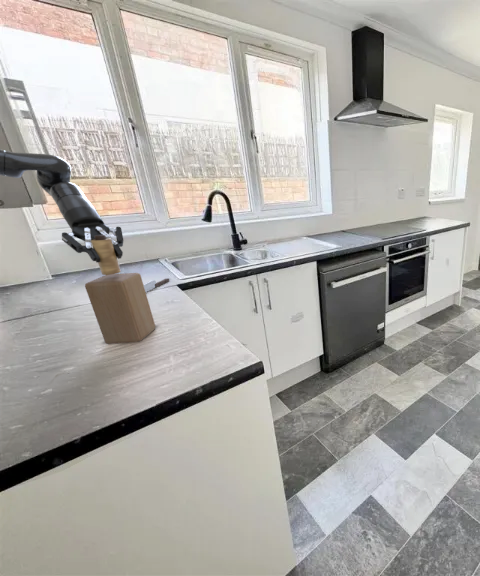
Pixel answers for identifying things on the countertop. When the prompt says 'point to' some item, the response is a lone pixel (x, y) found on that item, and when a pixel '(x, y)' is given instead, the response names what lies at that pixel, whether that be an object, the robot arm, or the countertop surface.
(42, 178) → the robot arm
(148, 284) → the kitchen knife
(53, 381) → the countertop surface
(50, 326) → the countertop surface
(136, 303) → the block
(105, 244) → the pepper mill
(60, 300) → the countertop surface
